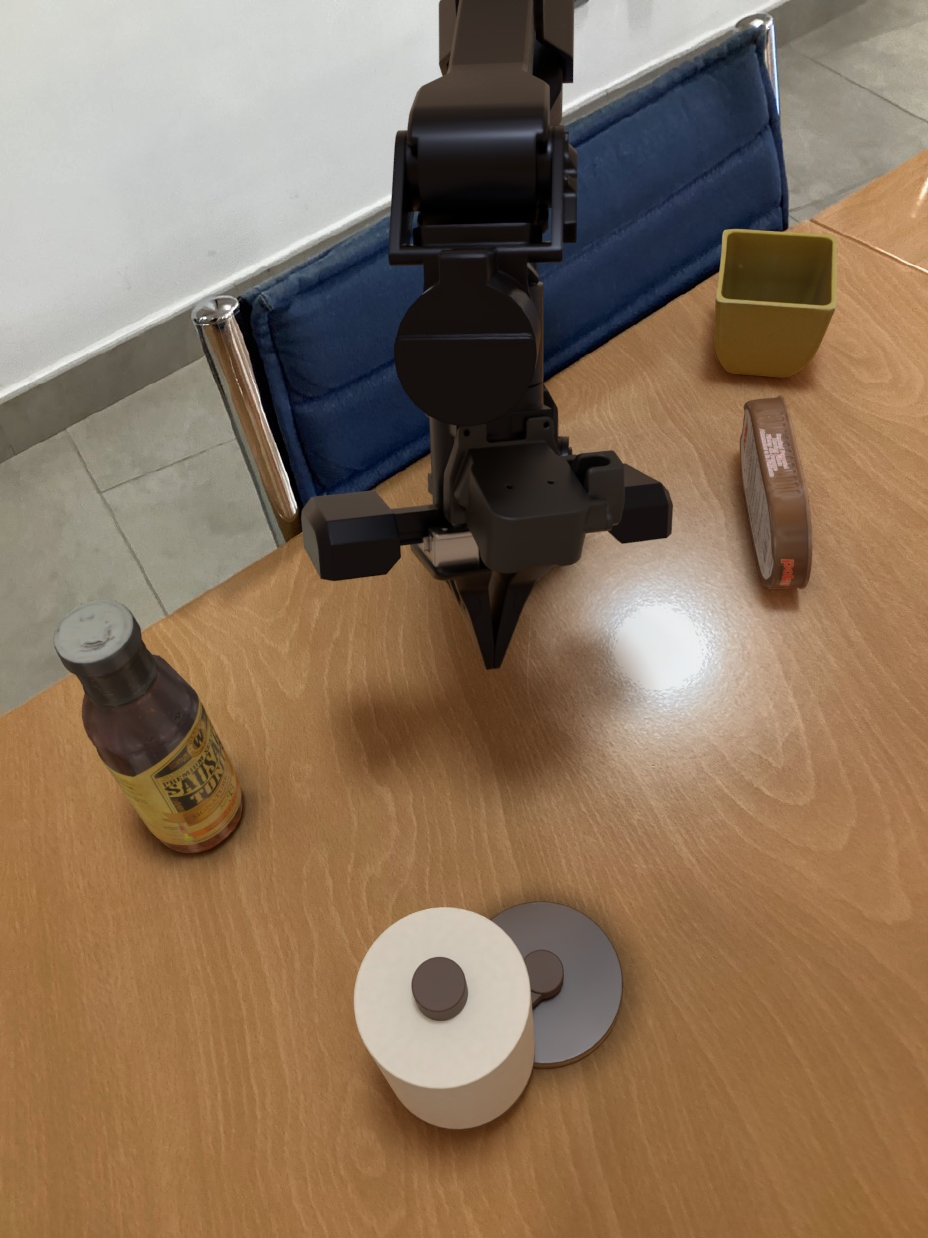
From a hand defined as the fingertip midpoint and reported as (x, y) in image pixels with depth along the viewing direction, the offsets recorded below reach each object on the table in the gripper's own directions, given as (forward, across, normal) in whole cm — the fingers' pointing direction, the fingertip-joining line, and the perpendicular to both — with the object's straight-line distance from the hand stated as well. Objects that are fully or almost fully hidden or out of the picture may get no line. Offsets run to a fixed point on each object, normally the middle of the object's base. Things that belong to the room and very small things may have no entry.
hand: (490, 666), depth 58 cm
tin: (0, +26, +14) cm, 30 cm away
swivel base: (+17, +1, -6) cm, 18 cm away
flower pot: (-10, +33, +28) cm, 45 cm away
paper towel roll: (+18, -4, -8) cm, 20 cm away
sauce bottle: (+12, -16, +10) cm, 23 cm away
